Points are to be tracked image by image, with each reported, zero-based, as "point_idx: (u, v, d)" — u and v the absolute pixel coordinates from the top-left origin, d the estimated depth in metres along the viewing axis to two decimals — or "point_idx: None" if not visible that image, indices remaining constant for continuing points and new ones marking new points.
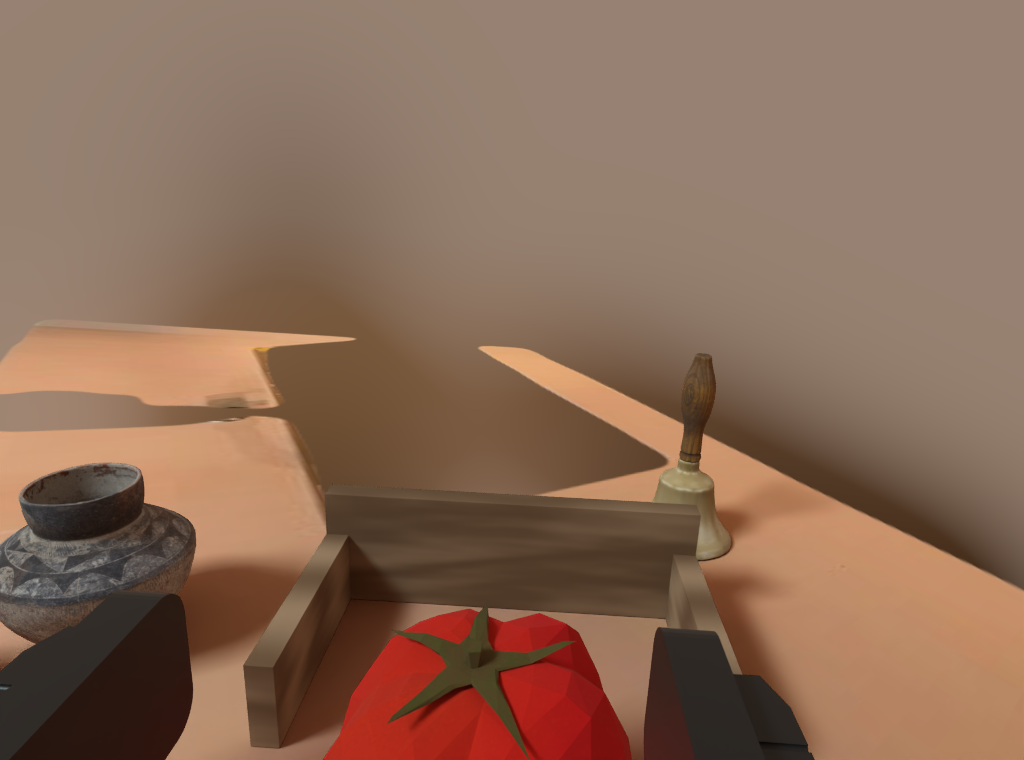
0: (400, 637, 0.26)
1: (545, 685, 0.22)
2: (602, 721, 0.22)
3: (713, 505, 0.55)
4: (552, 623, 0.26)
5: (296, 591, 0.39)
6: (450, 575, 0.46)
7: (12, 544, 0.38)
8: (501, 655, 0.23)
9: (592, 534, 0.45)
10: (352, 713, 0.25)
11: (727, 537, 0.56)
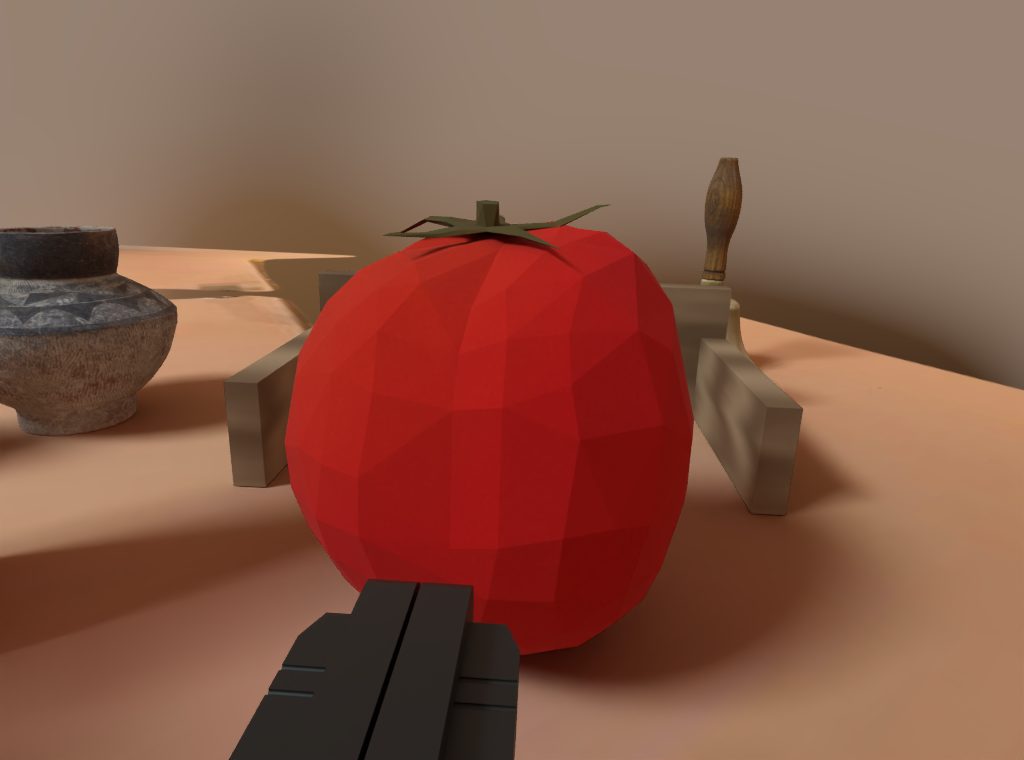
0: None
1: None
2: (646, 269, 0.18)
3: (739, 328, 0.51)
4: None
5: (286, 347, 0.35)
6: None
7: None
8: None
9: None
10: None
11: (754, 364, 0.52)
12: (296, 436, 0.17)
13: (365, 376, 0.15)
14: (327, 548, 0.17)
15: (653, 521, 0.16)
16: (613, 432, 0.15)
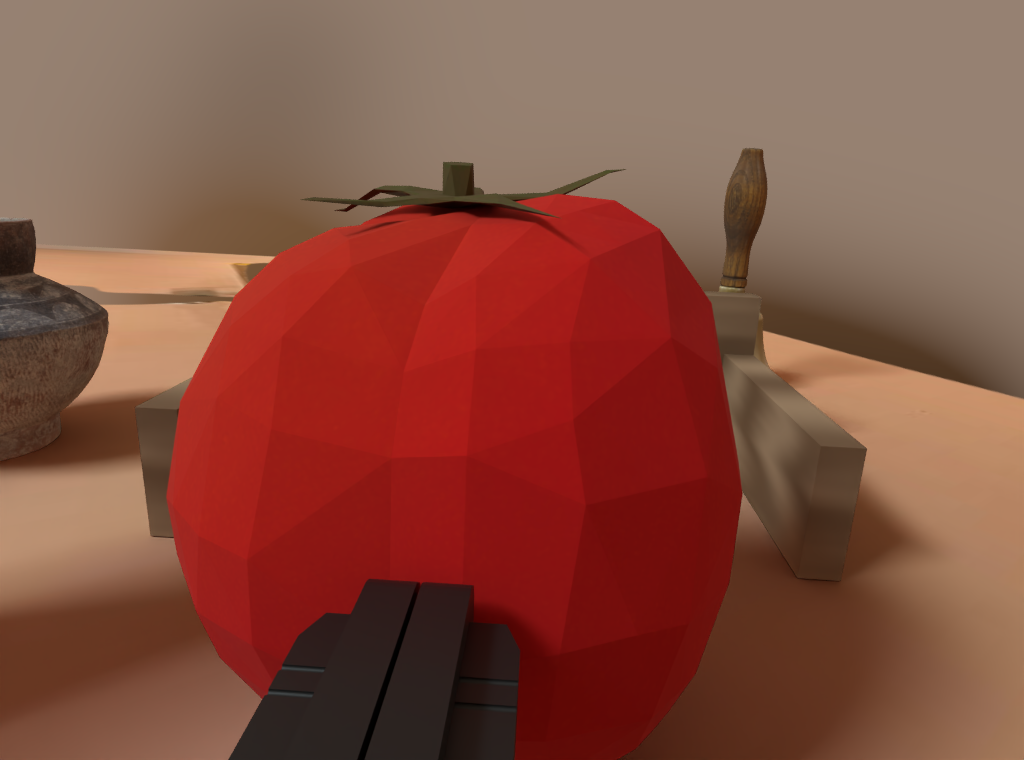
0: None
1: None
2: None
3: (762, 342, 0.45)
4: None
5: None
6: None
7: None
8: None
9: None
10: None
11: None
12: None
13: (262, 405, 0.10)
14: (217, 651, 0.12)
15: (690, 617, 0.11)
16: (635, 491, 0.10)
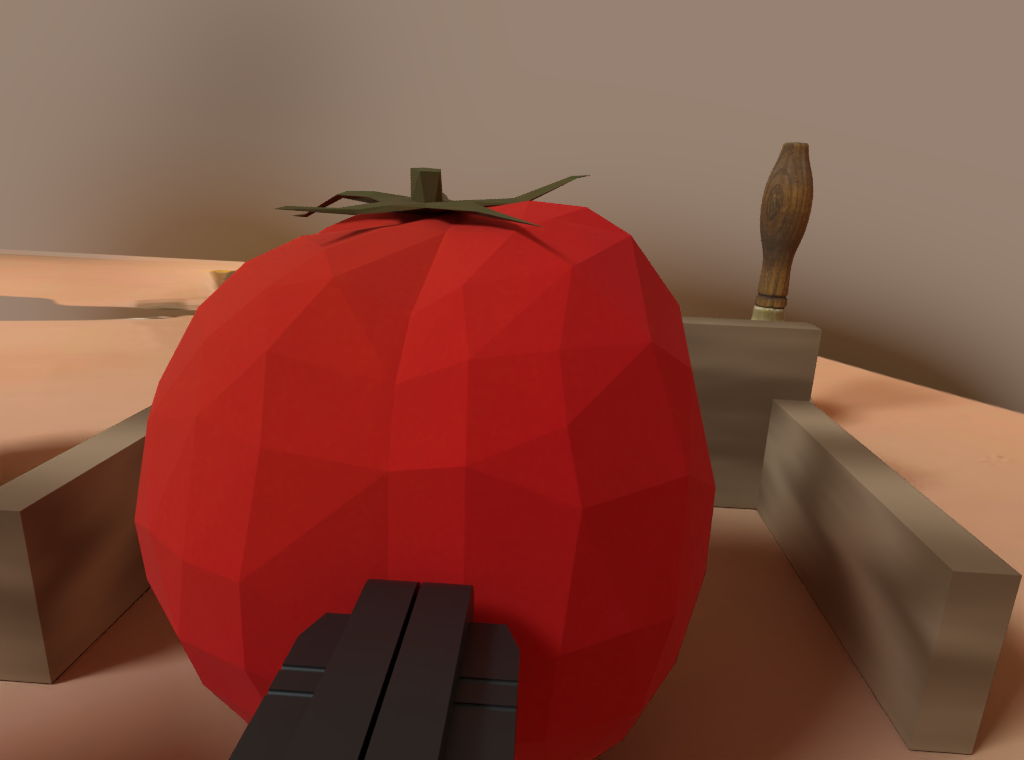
0: None
1: (551, 203, 0.13)
2: None
3: None
4: None
5: (131, 421, 0.22)
6: None
7: None
8: None
9: None
10: None
11: None
12: (147, 512, 0.11)
13: (249, 423, 0.10)
14: (200, 677, 0.11)
15: (676, 610, 0.11)
16: (626, 493, 0.10)
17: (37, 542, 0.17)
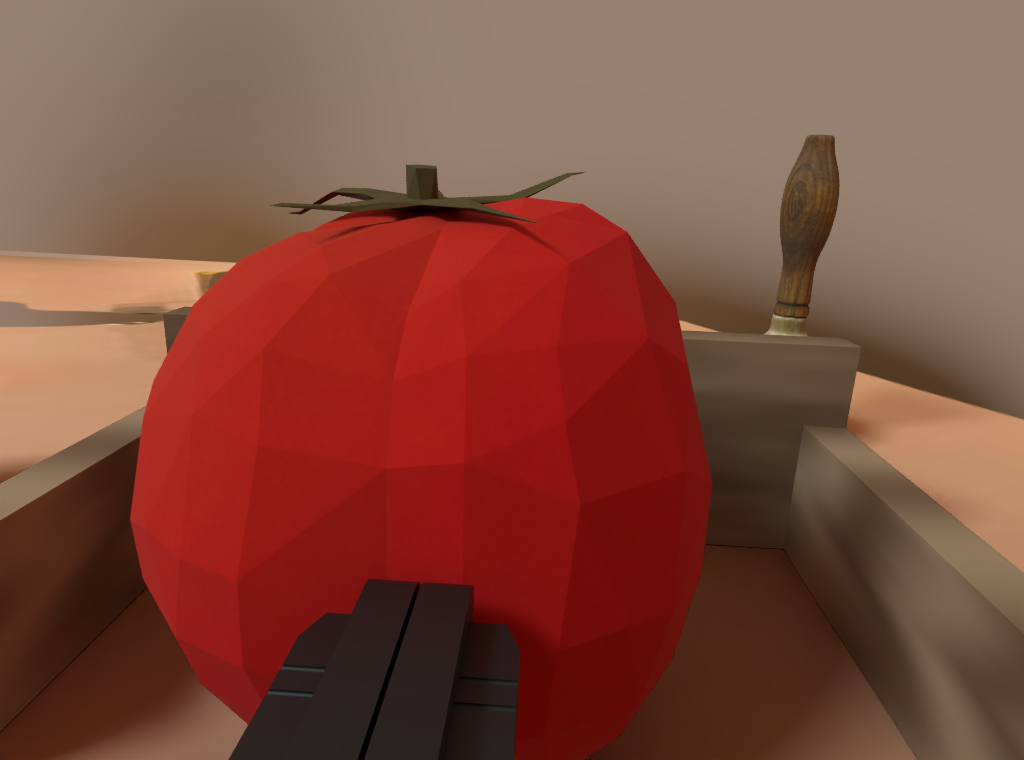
0: None
1: (547, 200, 0.13)
2: (642, 255, 0.13)
3: None
4: None
5: (54, 461, 0.19)
6: None
7: None
8: None
9: None
10: None
11: None
12: (143, 510, 0.11)
13: (246, 421, 0.10)
14: (197, 676, 0.11)
15: (674, 606, 0.11)
16: (624, 488, 0.10)
17: None
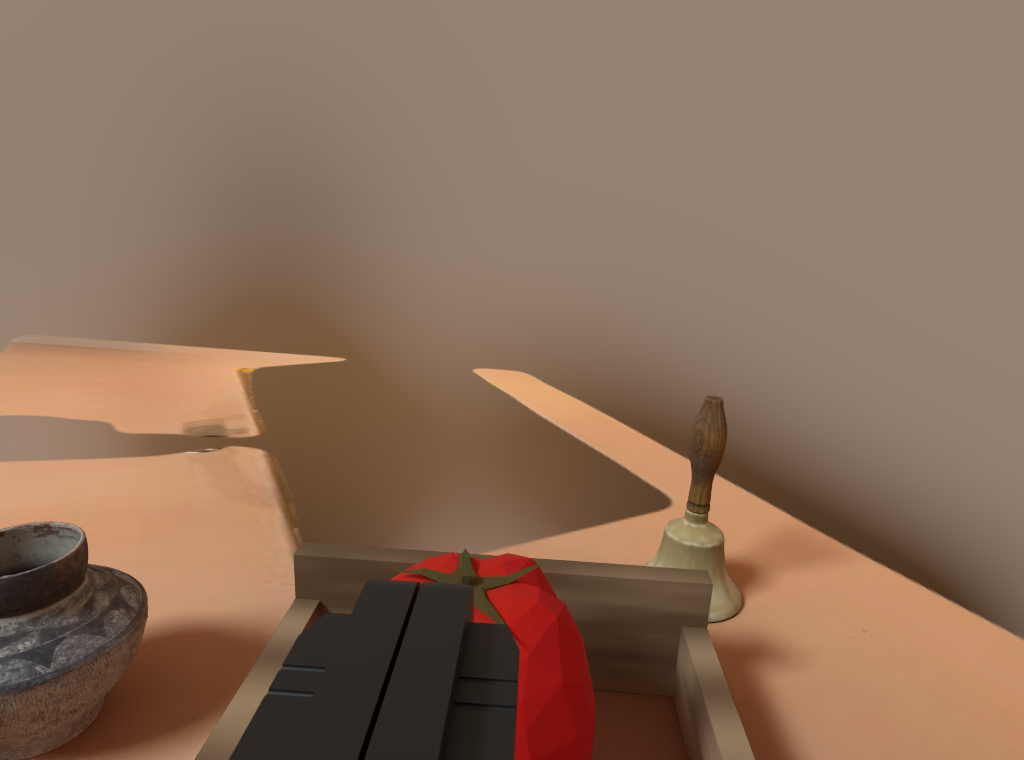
0: (399, 576, 0.32)
1: (522, 595, 0.29)
2: (565, 619, 0.29)
3: (723, 560, 0.51)
4: (520, 557, 0.33)
5: (255, 673, 0.35)
6: None
7: None
8: (485, 579, 0.30)
9: (591, 603, 0.40)
10: None
11: (738, 595, 0.51)
12: None
13: None
14: None
15: None
16: (549, 752, 0.26)
17: None
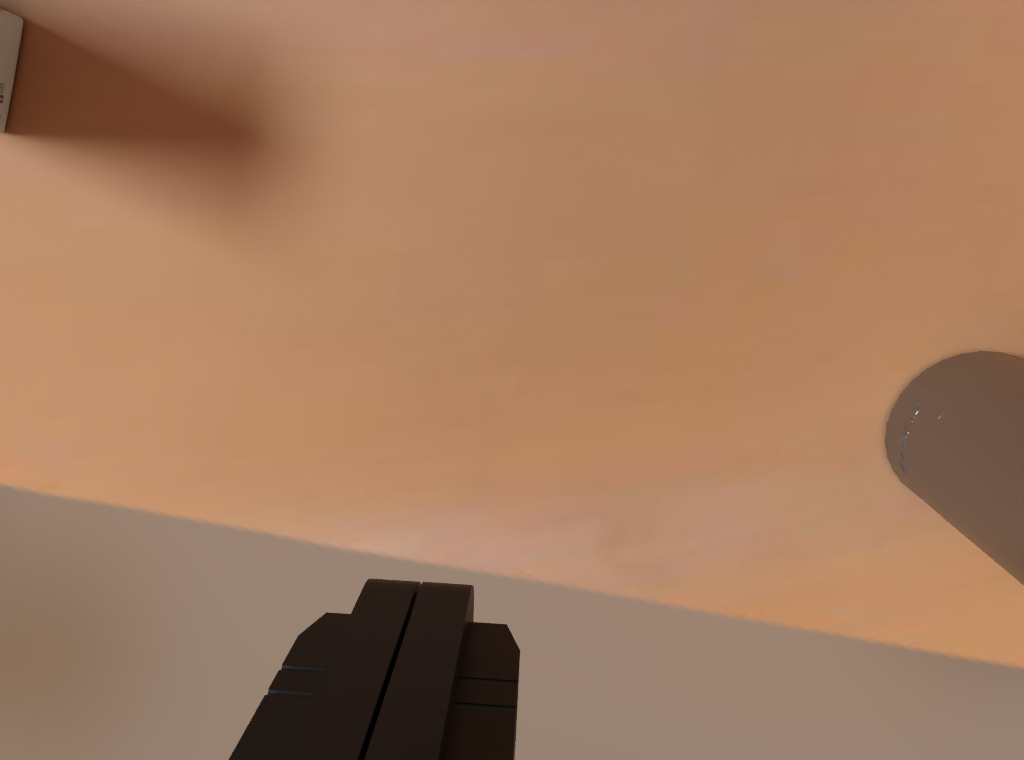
0: None
1: None
2: None
3: None
4: None
5: None
6: None
7: None
8: None
9: None
10: None
11: None
12: None
13: None
14: None
15: None
16: None
17: None
